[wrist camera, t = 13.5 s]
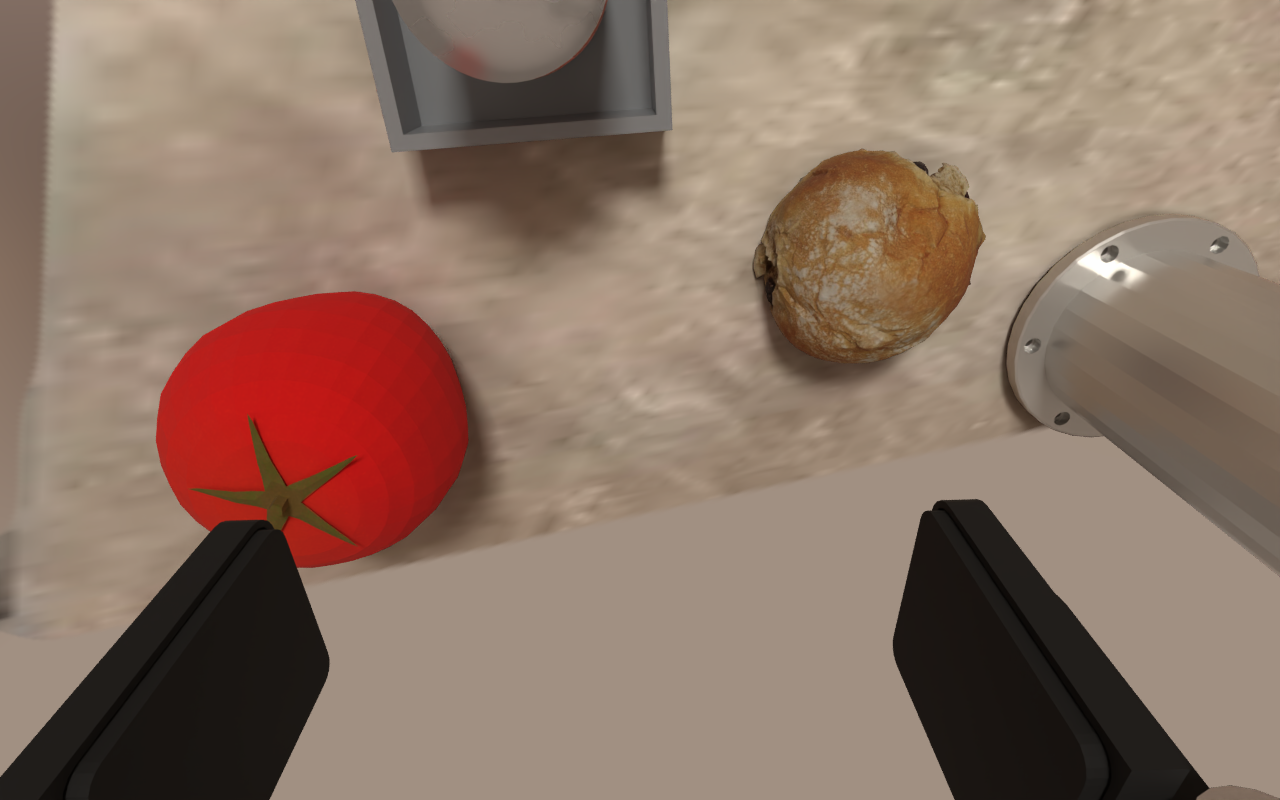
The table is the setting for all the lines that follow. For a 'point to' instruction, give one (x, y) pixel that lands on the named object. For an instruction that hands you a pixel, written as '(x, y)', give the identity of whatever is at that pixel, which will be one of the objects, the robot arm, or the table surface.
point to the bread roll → (868, 255)
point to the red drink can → (503, 34)
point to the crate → (523, 85)
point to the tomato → (316, 424)
